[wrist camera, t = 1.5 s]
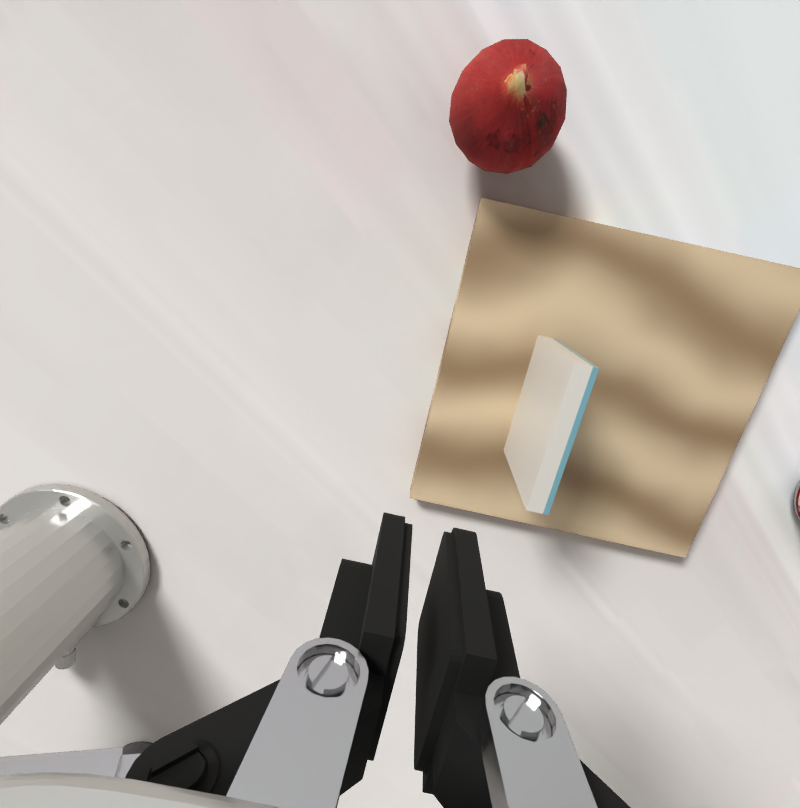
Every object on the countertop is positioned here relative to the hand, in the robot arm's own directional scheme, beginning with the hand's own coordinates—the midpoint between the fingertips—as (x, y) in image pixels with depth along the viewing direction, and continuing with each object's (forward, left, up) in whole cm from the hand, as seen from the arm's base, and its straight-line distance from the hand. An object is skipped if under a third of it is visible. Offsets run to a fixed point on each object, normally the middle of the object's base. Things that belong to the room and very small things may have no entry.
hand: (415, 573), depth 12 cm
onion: (+15, -1, -22) cm, 27 cm away
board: (+1, -11, -22) cm, 25 cm away
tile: (0, -7, -21) cm, 22 cm away
